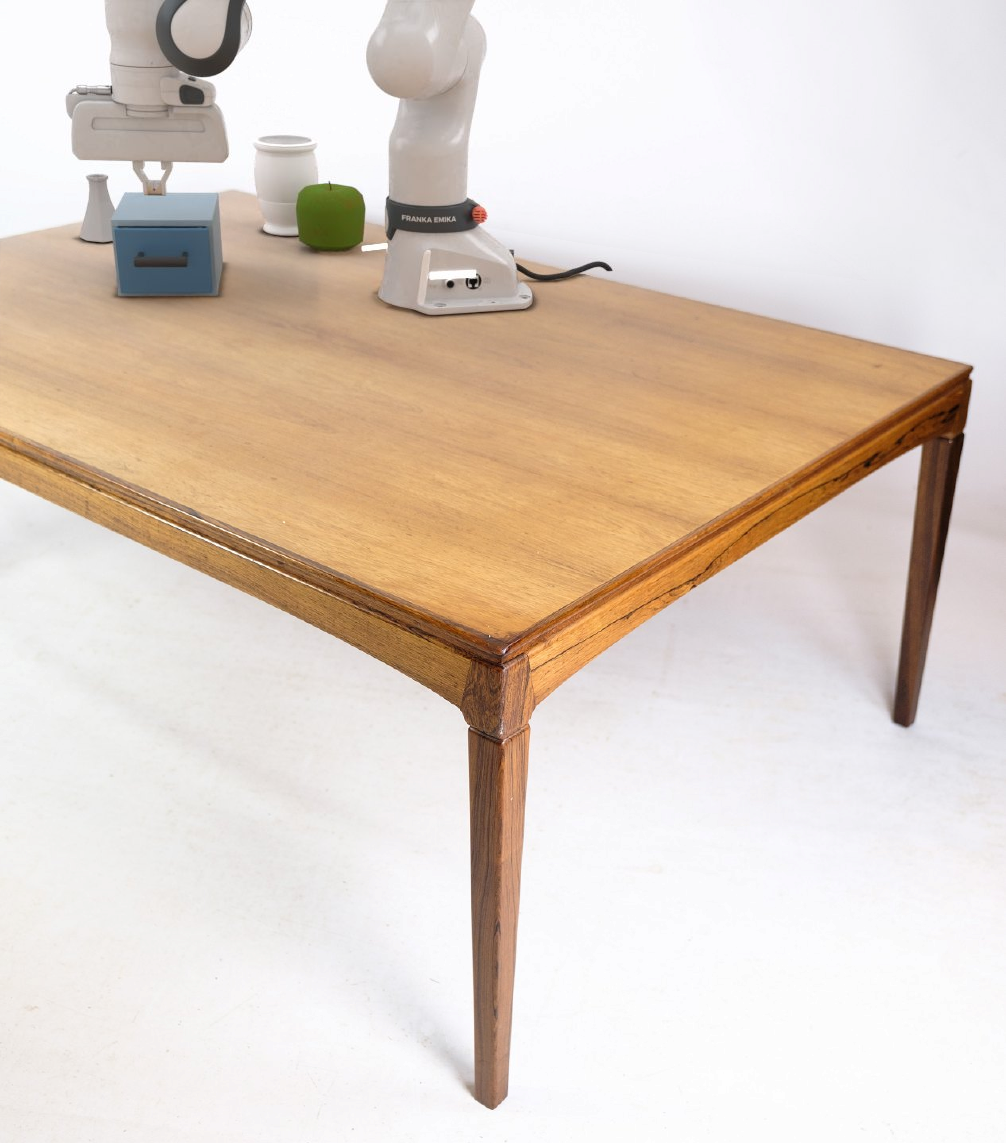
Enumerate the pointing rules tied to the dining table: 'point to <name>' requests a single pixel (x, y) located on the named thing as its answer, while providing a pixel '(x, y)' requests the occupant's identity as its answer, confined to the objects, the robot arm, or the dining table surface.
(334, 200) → the apple
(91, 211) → the flask
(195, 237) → the drawer
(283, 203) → the jar
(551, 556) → the dining table surface
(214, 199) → the cabinet
